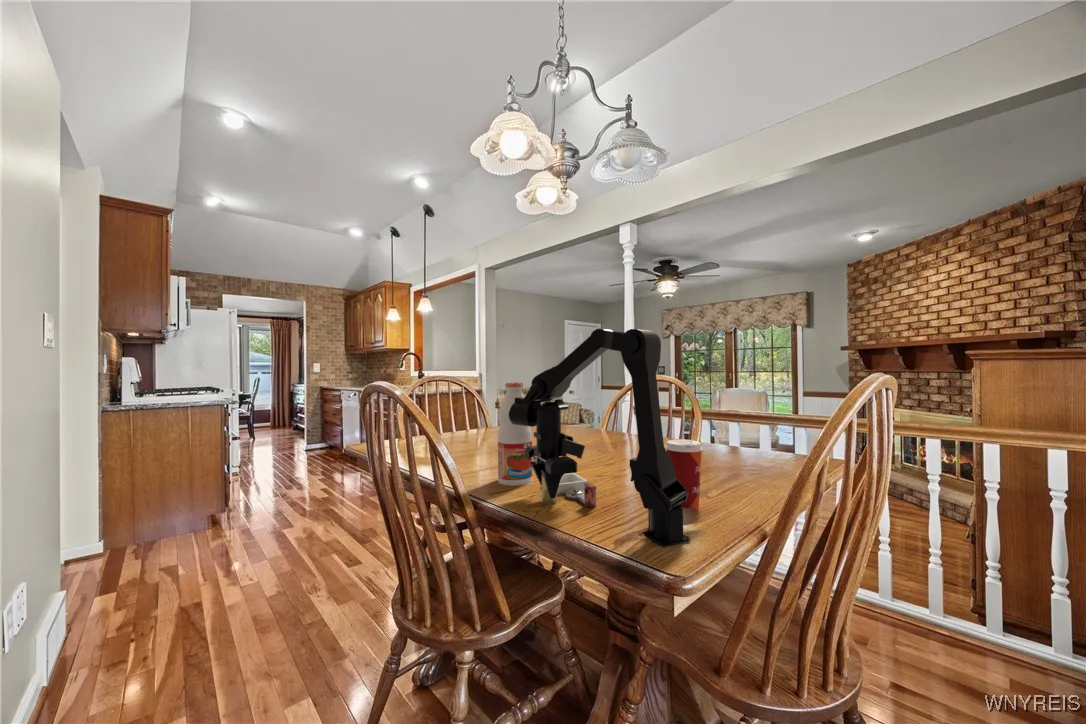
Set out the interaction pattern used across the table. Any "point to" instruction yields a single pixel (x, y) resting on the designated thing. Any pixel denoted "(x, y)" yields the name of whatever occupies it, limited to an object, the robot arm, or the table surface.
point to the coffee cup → (687, 467)
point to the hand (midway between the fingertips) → (549, 495)
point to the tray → (570, 483)
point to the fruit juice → (513, 443)
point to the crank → (584, 495)
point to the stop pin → (547, 495)
